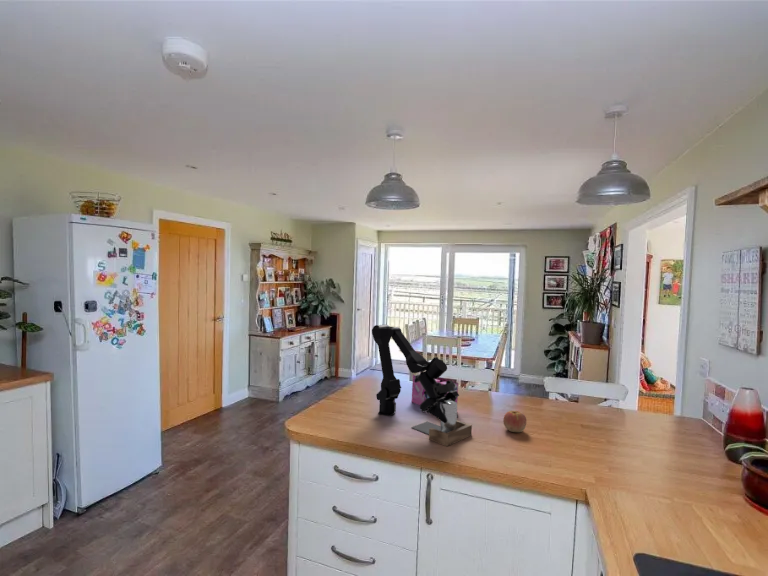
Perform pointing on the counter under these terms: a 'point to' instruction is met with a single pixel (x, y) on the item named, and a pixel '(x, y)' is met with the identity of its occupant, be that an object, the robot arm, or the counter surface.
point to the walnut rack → (451, 434)
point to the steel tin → (449, 416)
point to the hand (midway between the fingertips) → (451, 420)
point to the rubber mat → (426, 427)
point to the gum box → (419, 391)
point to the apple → (514, 421)
